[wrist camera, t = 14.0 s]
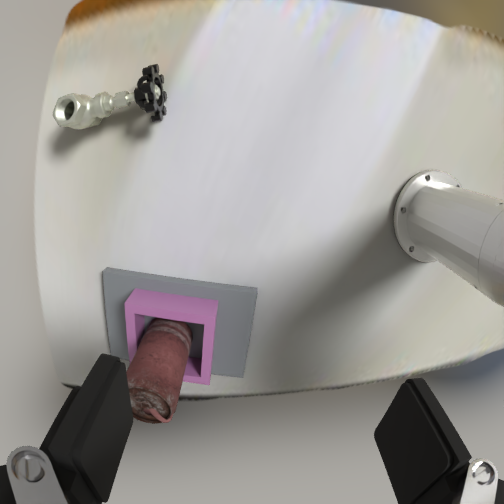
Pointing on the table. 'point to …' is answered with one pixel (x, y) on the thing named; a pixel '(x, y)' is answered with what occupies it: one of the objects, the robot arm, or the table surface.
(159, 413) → the can
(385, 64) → the table surface
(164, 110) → the valve
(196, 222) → the table surface
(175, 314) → the cup holder
